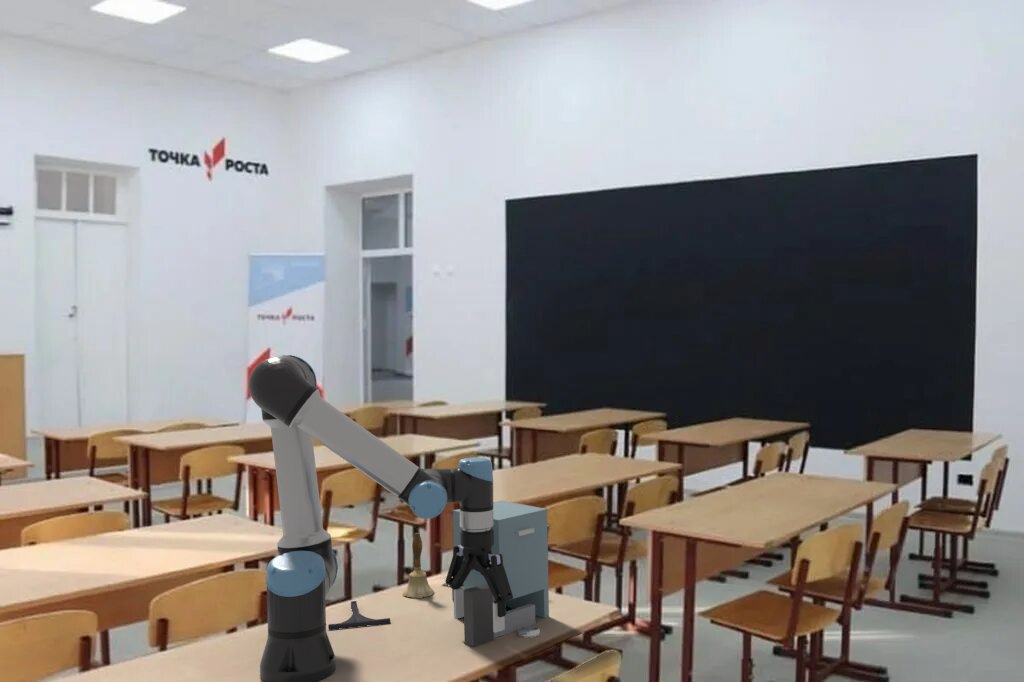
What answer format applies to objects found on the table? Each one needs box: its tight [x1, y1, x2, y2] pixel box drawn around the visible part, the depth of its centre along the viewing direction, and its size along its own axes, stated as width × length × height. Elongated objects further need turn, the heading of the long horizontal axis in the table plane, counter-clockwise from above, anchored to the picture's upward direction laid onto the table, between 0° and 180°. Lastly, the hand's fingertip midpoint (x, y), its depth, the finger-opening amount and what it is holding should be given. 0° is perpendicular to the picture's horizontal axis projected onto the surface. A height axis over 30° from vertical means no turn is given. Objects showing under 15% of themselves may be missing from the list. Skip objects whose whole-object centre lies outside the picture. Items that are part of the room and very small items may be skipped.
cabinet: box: [452, 500, 550, 620], centre depth 217 cm, size 16×17×26 cm
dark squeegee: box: [327, 600, 391, 631], centre depth 219 cm, size 14×15×3 cm
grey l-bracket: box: [463, 584, 536, 648], centre depth 205 cm, size 20×3×12 cm, turn 134°
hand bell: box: [402, 532, 435, 599], centre depth 237 cm, size 8×8×16 cm
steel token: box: [517, 626, 541, 638], centre depth 205 cm, size 5×5×1 cm
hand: (478, 624), depth 201 cm, fingers open, 12 cm apart
